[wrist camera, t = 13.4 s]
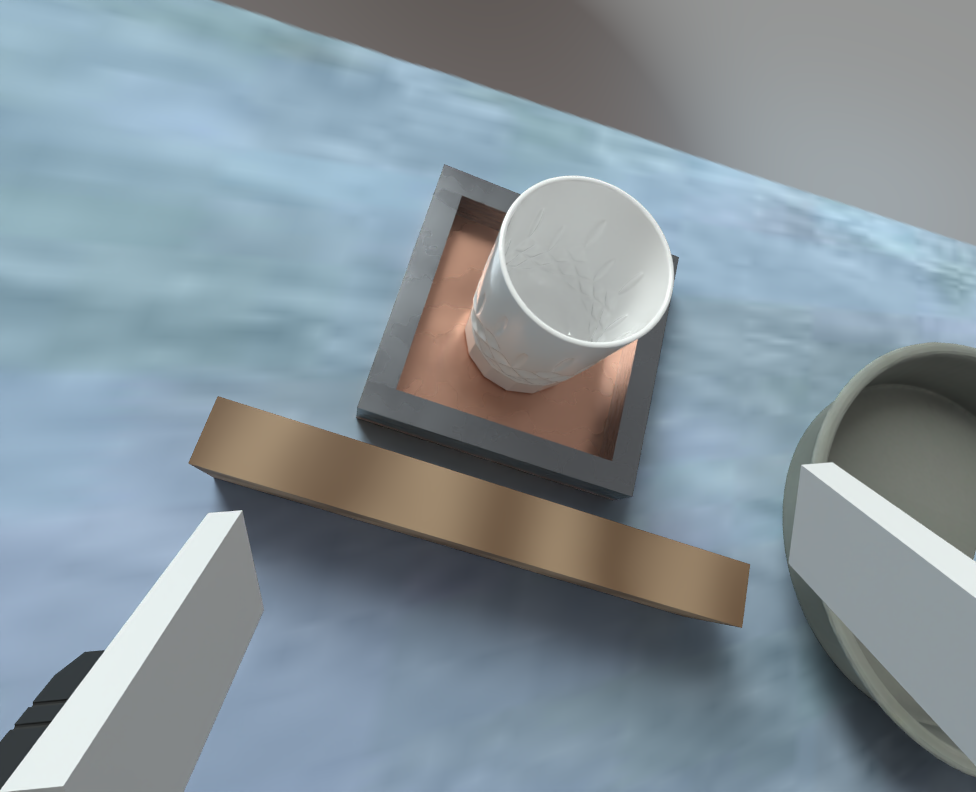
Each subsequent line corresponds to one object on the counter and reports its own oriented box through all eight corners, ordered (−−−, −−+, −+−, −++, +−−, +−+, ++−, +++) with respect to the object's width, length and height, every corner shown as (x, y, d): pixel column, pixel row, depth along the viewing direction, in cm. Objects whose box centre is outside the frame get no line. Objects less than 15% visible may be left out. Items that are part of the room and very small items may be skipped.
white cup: (476, 256, 35) (526, 147, 25) (597, 302, 36) (688, 215, 26) (437, 377, 32) (476, 307, 23) (568, 422, 33) (656, 374, 24)
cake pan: (828, 817, 32) (903, 858, 28) (710, 386, 37) (757, 364, 33) (1128, 698, 39) (1224, 716, 34) (992, 345, 44) (1062, 323, 39)
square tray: (356, 417, 31) (357, 407, 29) (437, 188, 36) (444, 164, 33) (612, 500, 33) (632, 496, 31) (658, 274, 38) (678, 257, 36)
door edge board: (213, 477, 29) (188, 463, 24) (237, 420, 30) (217, 396, 25) (684, 616, 33) (742, 627, 28) (693, 562, 34) (750, 564, 29)
